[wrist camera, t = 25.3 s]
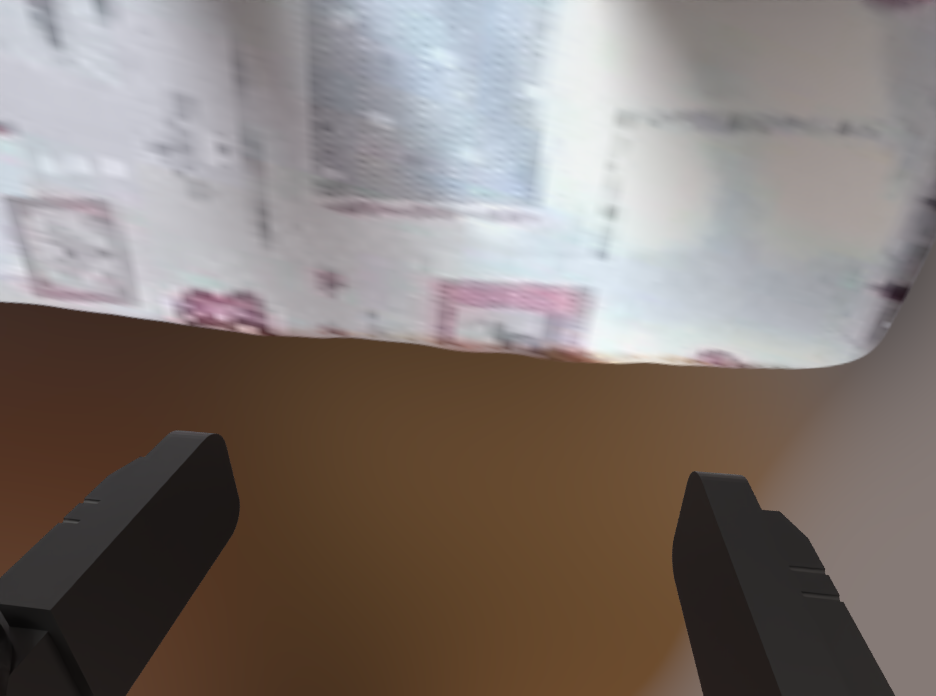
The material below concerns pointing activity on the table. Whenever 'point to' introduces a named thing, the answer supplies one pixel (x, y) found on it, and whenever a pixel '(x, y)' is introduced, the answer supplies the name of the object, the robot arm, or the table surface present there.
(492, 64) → the table surface
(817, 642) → the robot arm
